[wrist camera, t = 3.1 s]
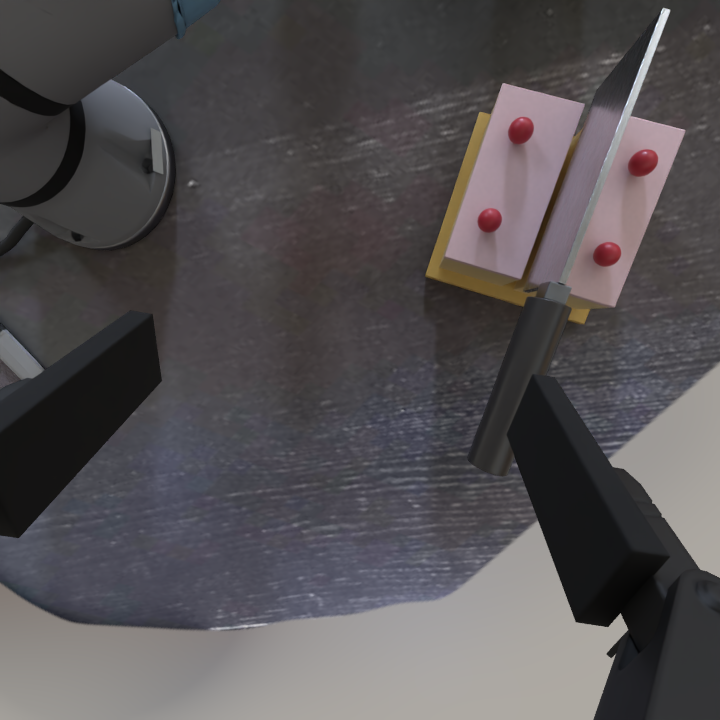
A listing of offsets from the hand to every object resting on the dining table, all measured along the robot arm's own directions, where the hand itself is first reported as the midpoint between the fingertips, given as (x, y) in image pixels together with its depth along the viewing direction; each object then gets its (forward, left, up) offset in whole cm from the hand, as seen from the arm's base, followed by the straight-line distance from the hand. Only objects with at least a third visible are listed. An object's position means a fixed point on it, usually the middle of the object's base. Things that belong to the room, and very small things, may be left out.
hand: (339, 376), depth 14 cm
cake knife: (+12, -2, -16) cm, 20 cm away
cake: (+16, +1, -23) cm, 28 cm away
